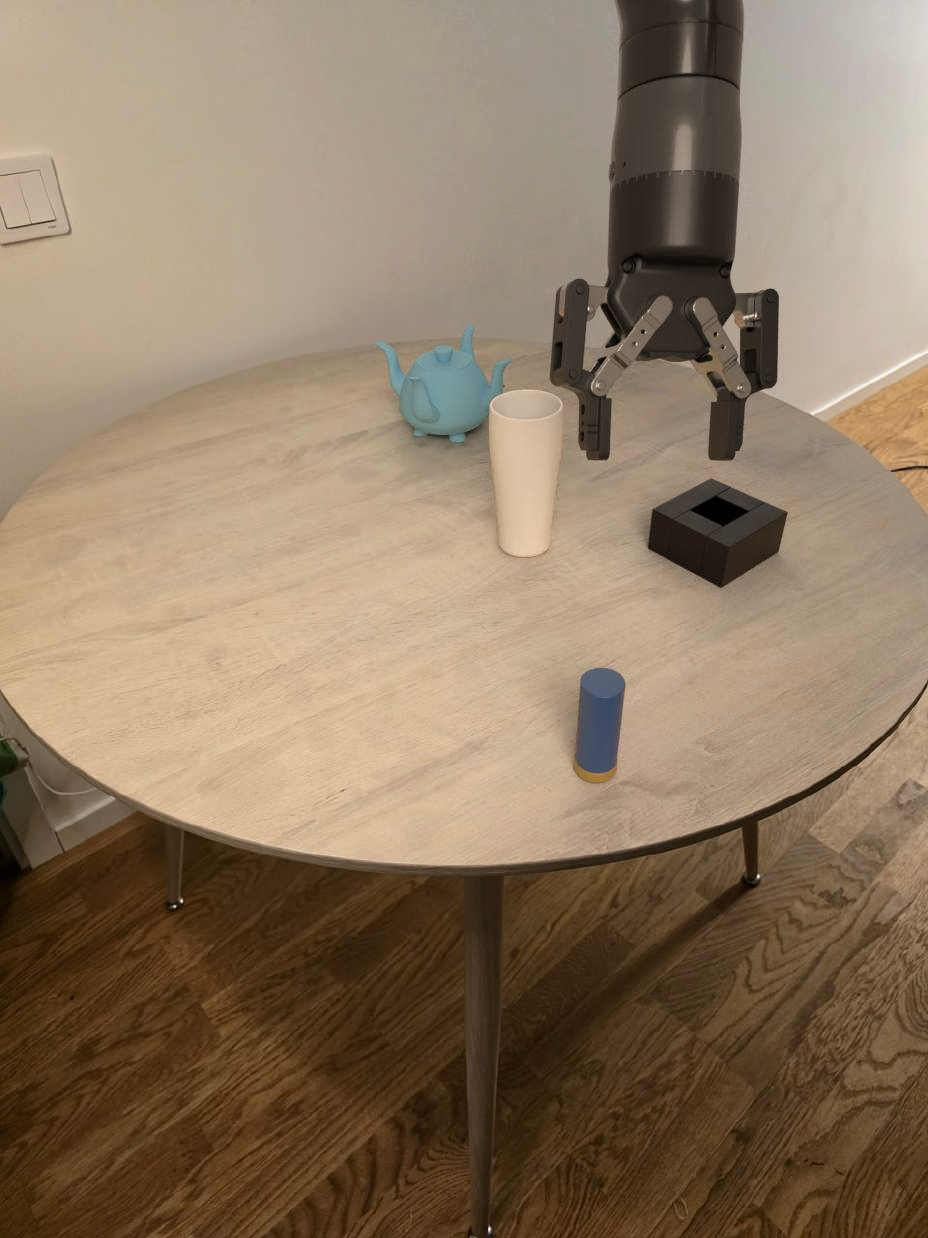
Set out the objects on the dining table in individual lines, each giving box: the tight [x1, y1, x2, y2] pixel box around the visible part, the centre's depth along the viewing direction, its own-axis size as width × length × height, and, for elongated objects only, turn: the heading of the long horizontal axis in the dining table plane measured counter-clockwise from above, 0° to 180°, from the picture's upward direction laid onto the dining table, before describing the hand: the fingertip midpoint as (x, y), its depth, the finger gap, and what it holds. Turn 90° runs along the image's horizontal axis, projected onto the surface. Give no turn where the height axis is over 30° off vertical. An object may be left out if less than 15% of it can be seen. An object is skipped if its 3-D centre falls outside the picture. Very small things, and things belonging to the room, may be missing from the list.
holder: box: [647, 478, 789, 589], centre depth 83 cm, size 9×9×4 cm
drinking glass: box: [488, 389, 565, 558], centre depth 81 cm, size 7×7×15 cm
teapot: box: [375, 324, 514, 443], centre depth 104 cm, size 13×13×10 cm
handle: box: [573, 667, 626, 784], centre depth 60 cm, size 3×3×8 cm
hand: (660, 460), depth 55 cm, fingers open, 8 cm apart
